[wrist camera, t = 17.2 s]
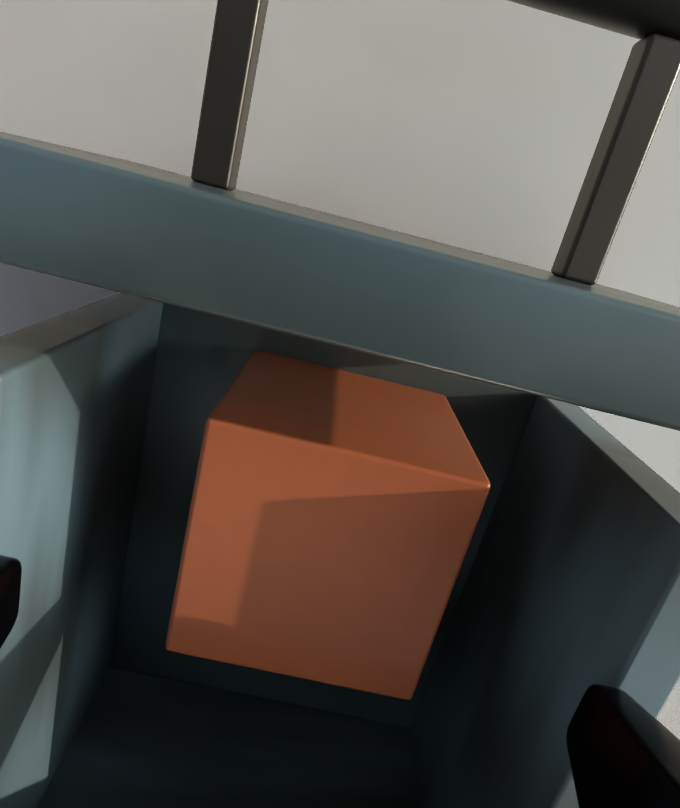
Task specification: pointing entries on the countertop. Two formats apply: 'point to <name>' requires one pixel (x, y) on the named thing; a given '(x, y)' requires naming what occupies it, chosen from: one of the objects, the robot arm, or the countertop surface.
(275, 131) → the countertop surface
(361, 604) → the block
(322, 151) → the countertop surface
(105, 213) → the drawer
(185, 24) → the countertop surface
